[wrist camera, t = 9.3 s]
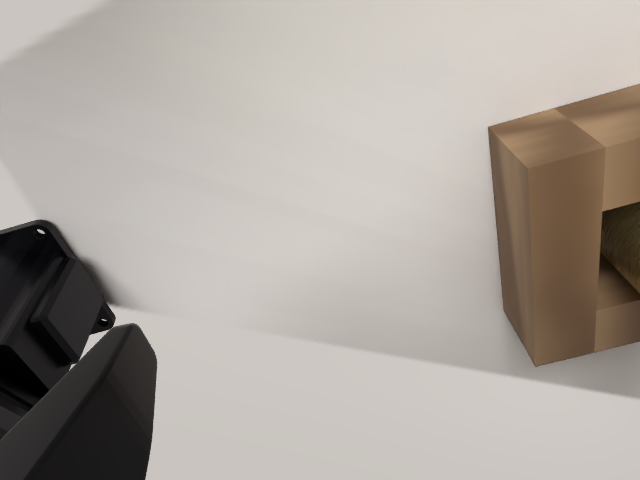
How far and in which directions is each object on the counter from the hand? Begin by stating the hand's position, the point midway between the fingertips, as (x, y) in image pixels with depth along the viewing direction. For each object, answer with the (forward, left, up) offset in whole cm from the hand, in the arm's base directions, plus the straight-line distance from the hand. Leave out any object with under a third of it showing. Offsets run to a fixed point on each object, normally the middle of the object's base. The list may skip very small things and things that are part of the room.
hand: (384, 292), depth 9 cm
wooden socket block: (+12, -10, -13) cm, 20 cm away
